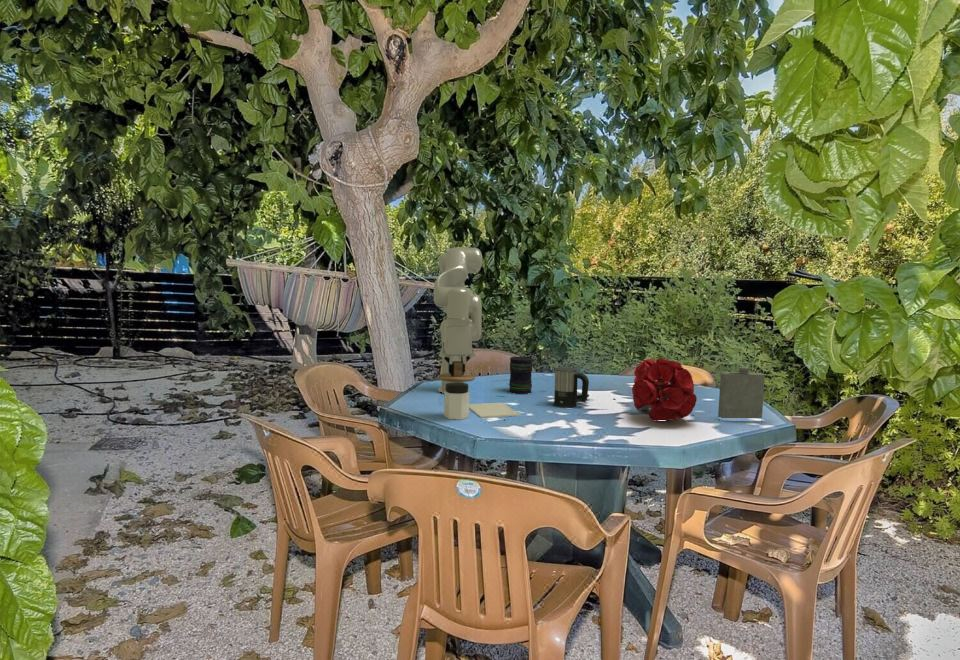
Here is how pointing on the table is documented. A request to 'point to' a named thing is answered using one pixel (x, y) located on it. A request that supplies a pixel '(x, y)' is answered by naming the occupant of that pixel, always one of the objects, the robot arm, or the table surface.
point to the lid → (457, 374)
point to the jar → (456, 401)
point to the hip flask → (741, 394)
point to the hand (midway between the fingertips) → (456, 374)
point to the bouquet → (663, 389)
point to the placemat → (492, 410)
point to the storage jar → (520, 375)
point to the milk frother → (569, 387)
